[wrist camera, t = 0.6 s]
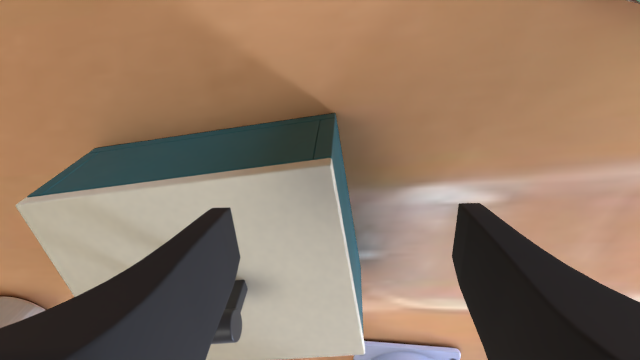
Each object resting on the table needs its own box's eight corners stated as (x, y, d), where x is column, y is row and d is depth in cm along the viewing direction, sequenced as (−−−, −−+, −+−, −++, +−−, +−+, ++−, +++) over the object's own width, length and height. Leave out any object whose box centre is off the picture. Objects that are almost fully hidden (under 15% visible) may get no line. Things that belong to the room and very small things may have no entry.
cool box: (360, 267, 26) (363, 336, 21) (162, 285, 28) (123, 351, 23) (335, 112, 21) (331, 156, 16) (94, 147, 23) (25, 196, 18)
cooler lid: (364, 343, 21) (368, 415, 18) (126, 358, 23) (89, 425, 20) (331, 156, 16) (327, 207, 13) (25, 197, 18) (-51, 250, 15)
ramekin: (-55, 307, 31) (-111, 354, 27) (21, 275, 29) (-28, 322, 25) (27, 372, 34) (-12, 422, 31) (101, 349, 32) (68, 399, 28)
